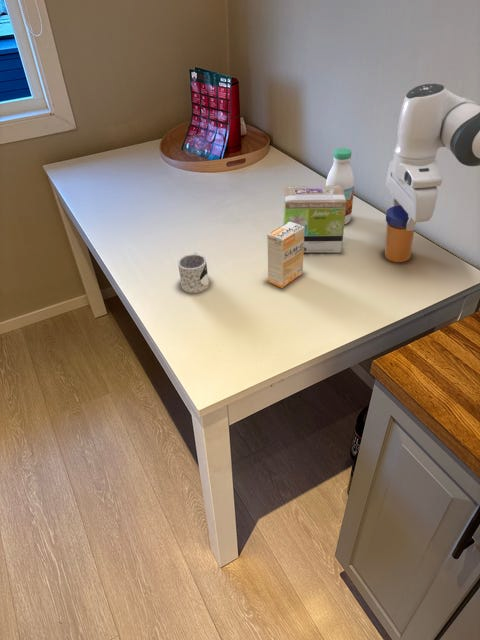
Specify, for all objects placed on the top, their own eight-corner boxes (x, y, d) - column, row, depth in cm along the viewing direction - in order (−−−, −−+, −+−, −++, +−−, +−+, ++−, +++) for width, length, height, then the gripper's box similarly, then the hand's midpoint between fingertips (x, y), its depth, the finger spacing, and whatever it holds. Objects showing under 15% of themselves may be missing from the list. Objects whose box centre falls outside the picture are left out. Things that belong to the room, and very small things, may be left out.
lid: (414, 212, 118) (415, 205, 116) (416, 227, 113) (417, 219, 111) (385, 212, 119) (386, 205, 118) (385, 227, 114) (386, 219, 113)
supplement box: (282, 289, 114) (283, 240, 106) (267, 282, 117) (266, 233, 109) (304, 274, 119) (305, 226, 111) (288, 267, 121) (289, 220, 113)
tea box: (283, 254, 126) (284, 202, 117) (283, 235, 134) (283, 185, 125) (342, 253, 125) (347, 200, 116) (338, 234, 133) (342, 183, 124)
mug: (207, 292, 115) (205, 268, 111) (180, 293, 115) (176, 269, 111) (210, 269, 123) (208, 246, 119) (184, 270, 123) (181, 247, 119)
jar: (405, 246, 125) (409, 206, 118) (415, 259, 120) (420, 220, 113) (381, 250, 125) (383, 211, 118) (389, 264, 120) (393, 224, 113)
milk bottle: (332, 228, 136) (337, 157, 124) (319, 217, 142) (322, 148, 129) (356, 222, 138) (363, 152, 125) (342, 211, 144) (347, 143, 131)
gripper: (383, 150, 115) (376, 204, 124) (416, 184, 100) (405, 243, 108) (409, 147, 116) (400, 201, 124) (446, 181, 100) (433, 240, 108)
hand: (403, 221), depth 116 cm, fingers closed on lid, 6 cm apart
